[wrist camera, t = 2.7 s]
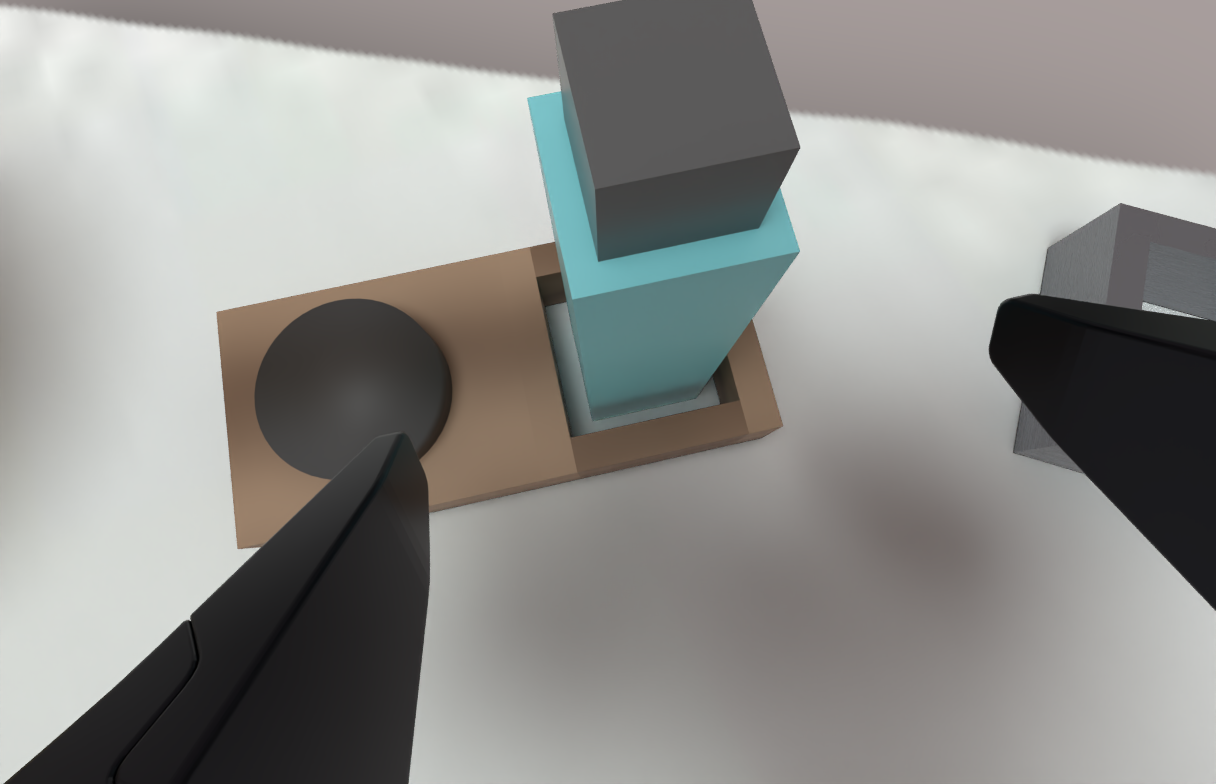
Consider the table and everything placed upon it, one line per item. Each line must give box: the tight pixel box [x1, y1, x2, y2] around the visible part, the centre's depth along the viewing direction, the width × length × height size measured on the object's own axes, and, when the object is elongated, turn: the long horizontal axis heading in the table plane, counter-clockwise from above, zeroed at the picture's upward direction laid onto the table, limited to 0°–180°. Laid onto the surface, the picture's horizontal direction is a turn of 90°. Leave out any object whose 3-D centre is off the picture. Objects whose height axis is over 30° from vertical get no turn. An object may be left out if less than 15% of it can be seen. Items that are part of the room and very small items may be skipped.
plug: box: [527, 0, 800, 421], centre depth 14 cm, size 4×4×13 cm
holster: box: [217, 242, 783, 549], centre depth 18 cm, size 7×16×4 cm, turn 103°
